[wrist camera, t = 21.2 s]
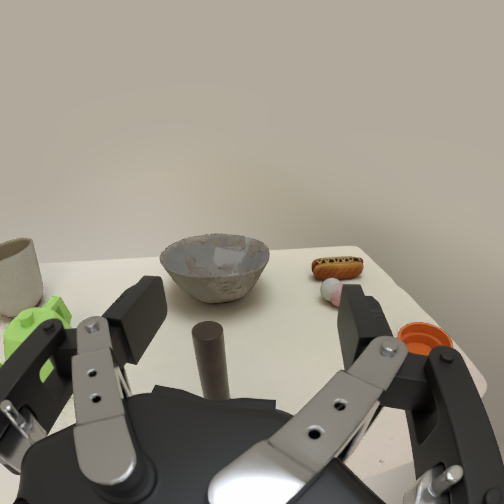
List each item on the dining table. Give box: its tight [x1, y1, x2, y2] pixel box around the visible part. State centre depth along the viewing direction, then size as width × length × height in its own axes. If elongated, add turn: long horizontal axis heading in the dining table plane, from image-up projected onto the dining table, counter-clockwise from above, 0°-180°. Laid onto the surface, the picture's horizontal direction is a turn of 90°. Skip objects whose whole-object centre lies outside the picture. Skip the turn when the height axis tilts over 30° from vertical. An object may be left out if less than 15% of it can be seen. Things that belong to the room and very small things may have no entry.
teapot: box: [0, 296, 72, 383], centre depth 33 cm, size 20×13×13 cm
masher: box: [192, 321, 230, 400], centre depth 28 cm, size 6×6×16 cm
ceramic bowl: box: [160, 234, 269, 303], centre depth 61 cm, size 22×23×10 cm
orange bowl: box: [397, 322, 453, 356], centre depth 39 cm, size 10×10×4 cm
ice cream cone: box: [320, 278, 343, 307], centre depth 55 cm, size 5×5×15 cm
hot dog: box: [312, 257, 363, 280], centre depth 68 cm, size 5×13×5 cm, turn 95°
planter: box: [0, 238, 43, 317], centre depth 50 cm, size 17×17×15 cm
